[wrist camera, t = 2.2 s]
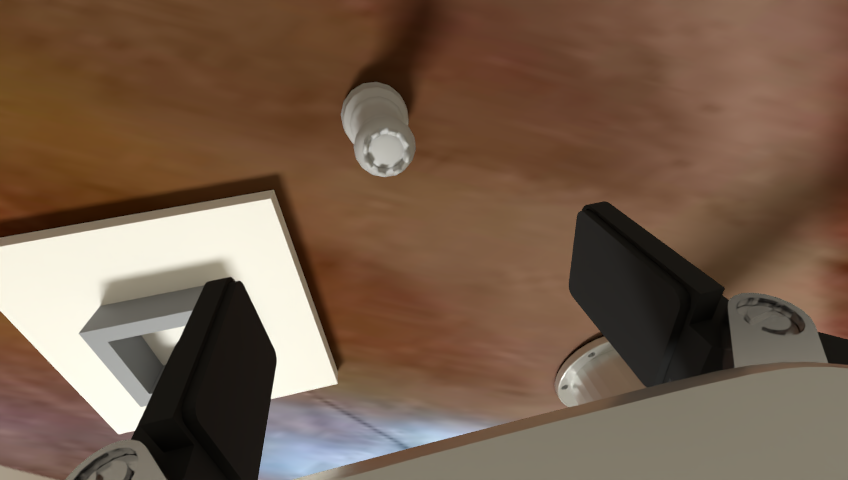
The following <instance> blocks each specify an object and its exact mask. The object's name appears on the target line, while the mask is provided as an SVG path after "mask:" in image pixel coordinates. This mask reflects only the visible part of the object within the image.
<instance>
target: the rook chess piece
mask: <svg viewBox="0 0 848 480" xmlns="http://www.w3.org/2000/svg"><path fill="white" fill-rule="evenodd" d="M341 118H342V123H343V128H344V130H345V133H346V134H347V136H348V137H349V139H350V140H351V142H352V143H353V144H354V151H355V156H356V159H357V161H358V162H359V164H360V165H361V167H362V168H363V169H365V170H366V171H368V172H369V173H371V174H372V175H377V176H381V177H387V176H393V175H397V174H399V173H401V172H402V171H403V170H405V169H406V168H407V166H408V165H409V164H410V163H411V161H412V160H413V156H414V153H415V150H416V148H415V138H414V136H413V134H412V132H411V130H410V128H409V127H408V123H409V120H408V111H407V108H406V105H405V103H404V101H403V99H402V97H401V95H400V94H399V93H398V92H397V91H395V90H394V89H393V88H392V87H391V86H389V85H386V84H382V83H379V82H371V83H363V84H361V85H360V86H358V87H356V88H355V89H353V90H351V92H350V93H349V95H348V96H347V98H346V99H345V100H344V102H343V107H342V112H341Z"/></svg>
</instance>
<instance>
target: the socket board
mask: <svg viewBox="0 0 848 480" xmlns="http://www.w3.org/2000/svg"><path fill="white" fill-rule="evenodd" d="M227 277H232V278H233V279H234V280H235V281H241V282H242V283H243V284H244V286H245V288H246V291H247V293H248V295H249V297H250V299H251V301H252V303H253V305H254V307H255V309H256V311H257V314H258V316H259V318H260V320H261V322H262V324H263V326H264V328H265V330H266V332H267V335H268V337H269V339H270V341H271V343H272V345H273V347H274V349H275V352H276V357H277V364H276V370H275V376H274V382H273V389H272V395H271V399H274V398H278V397H282V396H287V395H291V394H295V393H300V392H304V391H308V390H313V389H317V388H321V387H326V386H330V385H334V384H338V371H337V368H336V365H335V362H334V359H333V357H332V354H331V351H330V348H329V345H328V342H327V339H326V337H325V334H324V331H323V328H322V325H321V322H320V320H319V317H318V314H317V311H316V308H315V305H314V303H313V300H312V297H311V294H310V291H309V288H308V285H307V283H306V280H305V277H304V274H303V271H302V268H301V266H300V263H299V260H298V257H297V254H296V251H295V248H294V246H293V243H292V240H291V237H290V234H289V231H288V229H287V226H286V223H285V220H284V217H283V214H282V212H281V209H280V206H279V203H278V200H277V197H276V194H275V192H274V190H269V191H263V192H258V193H252V194H246V195H241V196H235V197H229V198H223V199H218V200H212V201H206V202H201V203H195V204H189V205H184V206H178V207H172V208H166V209H161V210H155V211H149V212H144V213H138V214H132V215H127V216H121V217H115V218H109V219H104V220H98V221H92V222H87V223H81V224H75V225H70V226H64V227H58V228H52V229H47V230H41V231H35V232H30V233H24V234H18V235H13V236H7V237H1V238H0V311H1V312H2V313H3V314H4V315H5V316H6V317H7V318H8V319H9V320H10V321H11V322H12V324H13V325H14V326H15V327H16V328H17V329H18V330H19V331H20V332H21V333H22V334H23V335H24V336H25V337H26V338H27V339H28V340H29V341H30V342H31V343H32V344H33V345H34V347H35V348H36V349H37V350H38V351H39V352H40V353H41V354H42V355H43V356H44V357H45V358H46V359H47V360H48V361H49V362H50V363H51V364H52V365H53V366H54V367H55V368H56V370H57V371H58V372H59V373H60V374H61V375H62V376H63V377H64V378H65V379H66V380H67V381H68V382H69V383H70V384H71V385H72V386H73V387H74V388H75V389H76V390H77V391H78V393H79V394H80V395H81V396H82V397H83V398H84V399H85V400H86V401H87V402H88V403H89V404H90V405H91V406H92V407H93V408H94V409H95V410H96V411H97V412H98V413H99V414H100V416H101V417H102V418H103V419H104V420H105V421H106V422H107V423H108V424H109V425H110V426H111V427H112V428H113V429H114V430H115V431H116V432H117V433H118V434H122V433H126V432H131V431H135V430H136V428H137V426H138V423H139V421H140V419H141V417H142V415H143V413H144V411H145V409H146V406H147V404H148V402H149V400H150V398H151V396H152V394H153V391H154V389H155V387H156V385H157V383H158V381H159V379H160V377H161V374H162V372H163V370H164V368H165V366H166V364H167V362H168V359H169V357H170V355H171V353H172V351H173V349H174V347H175V345H176V344H177V342H178V341H179V339H180V337H181V335H182V332H183V330H184V328H185V326H186V324H187V322H188V320H189V317H190V315H191V313H192V311H193V309H194V307H195V304H196V302H197V300H198V298H199V296H200V294H201V292H202V289H203V287H204V285H205V284H206V282H208V281H212V280H217V279H222V278H227Z"/></svg>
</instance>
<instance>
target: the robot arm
mask: <svg viewBox="0 0 848 480" xmlns="http://www.w3.org/2000/svg"><path fill="white" fill-rule="evenodd" d="M724 289H725V288H724V287H723V286H721V285H720V284H719V283H717V282H716V281H714V280H713V279H712V278H710V277H709V276H708V275H706V274H705V273H704V272H702V271H701V270H699V269H698V268H697V267H695V266H694V265H693V264H691V263H690V262H689V261H687V260H686V259H685V258H683V257H682V256H680V255H679V254H678V253H676V252H675V251H674V250H672V249H671V248H670V247H668V246H667V245H665V244H664V243H663V242H661V241H660V240H659V239H657V238H656V237H655V236H653V235H652V234H651V233H649V232H648V231H646V230H645V229H644V228H642V227H641V226H640V225H638V224H637V223H636V222H634V221H633V220H631V219H630V218H629V217H627V216H626V215H625V214H623V213H622V212H621V211H619V210H618V209H616V208H615V207H614V206H612V205H611V204H610V203H608V202H599V203H594V204H589V205H586V206H584V207H583V209H582V211H580V212H579V213H578V215H577V221H576V229H575V237H574V245H573V254H572V262H571V270H570V278H569V290H570V293H571V295H572V296H573V298H574V299H575V300H576V302H577V303H578V304H579V305H580V306H581V308H582V309H583V310H584V311H585V313H586V314H587V315H588V316H589V318H590V319H591V320H592V321H593V323H594V324H595V325H596V326H597V328H598V329H599V330H600V331H601V333H602V334H603V335H604V337H601V338H598V339H596V340H594V341H592V342H590V343H588V344H586V345H585V346H583V347H581V348H580V349H578V350H577V351H576V352H575V353H574V354H572V355H571V356H570V357H569V358H568V359H567V360H566V361H565V363H564V364H563V365H562V367H561V368H560V370H559V372H558V374H557V376H556V380H555V391H556V393H557V395H558V397H559V399H560V400H561V401H562V403H563V404H565V405H566V406H568V408H564V409H560V410H556V411H553V412H549V413H545V414H541V415H537V416H533V417H529V418H525V419H521V420H518V421H514V422H510V423H506V424H502V425H498V426H494V427H490V428H487V429H483V430H479V431H475V432H471V433H467V434H463V435H460V436H456V437H452V438H448V439H444V440H440V441H436V442H432V443H429V444H425V445H421V446H417V447H413V448H410V449H406V450H402V451H398V452H394V453H391V454H387V455H383V456H379V457H376V458H372V459H368V460H364V461H360V462H357V463H353V464H349V465H345V466H341V467H338V468H334V469H330V470H326V471H322V472H319V473H315V474H311V475H308V476H304V477H301V478H297V479H294V480H848V340H847V339H843V338H840V337H836V336H832V335H828V334H824V333H820V332H817V329H816V326H815V324H814V323H813V321H812V319H811V318H810V317H809V316H808V315H807V314H806V313H805V312H804V311H803V310H801V309H800V308H798V307H796V306H795V305H793V304H791V303H789V302H787V301H784V300H782V299H780V298H777V297H773V296H769V295H766V294H759V293H741V294H738V295H735V296H733V297H732V298H731V299H730V300H728V299H726V298H725V297H724V296H723V295H722V294H723V291H724ZM276 364H277V357H276V352H275V349H274V347H273V345H272V343H271V341H270V339H269V337H268V335H267V332H266V330H265V328H264V326H263V324H262V322H261V320H260V318H259V316H258V314H257V311H256V309H255V307H254V305H253V303H252V301H251V299H250V297H249V295H248V293H247V291H246V288H245V286H244V284H243V283H242V282H241V281H235V280H234V279H233V278H232V277H227V278H222V279H217V280H212V281H208V282H206V284H205V285H204V287H203V289H202V292H201V294H200V296H199V298H198V300H197V302H196V304H195V307H194V309H193V311H192V313H191V315H190V317H189V320H188V322H187V324H186V326H185V328H184V330H183V332H182V335H181V337H180V339H179V341H178V342H177V344H176V345H175V347H174V349H173V351H172V353H171V355H170V357H169V359H168V362H167V364H166V366H165V368H164V370H163V372H162V374H161V377H160V379H159V381H158V383H157V385H156V387H155V389H154V391H153V394H152V396H151V398H150V400H149V402H148V404H147V406H146V409H145V411H144V413H143V415H142V417H141V419H140V421H139V423H138V426H137V428H136V430H135V432H134V434H133V436H132V438H131V440H124V441H118V442H115V443H113V444H111V445H108V446H106V447H104V448H102V449H100V450H99V451H97V452H95V453H94V454H92V455H91V456H89V457H88V458H87V459H86V460H85V461H83V462H82V463H81V464H80V465H79V466H77V467H76V468H75V470H74V471H73V472H72V473H71V474H70V475H69V476H68V477H67V478H66V479H65V480H258V474H259V468H260V462H261V456H262V450H263V444H264V437H265V431H266V425H267V419H268V413H269V407H270V401H271V395H272V389H273V382H274V376H275V370H276Z"/></svg>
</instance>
